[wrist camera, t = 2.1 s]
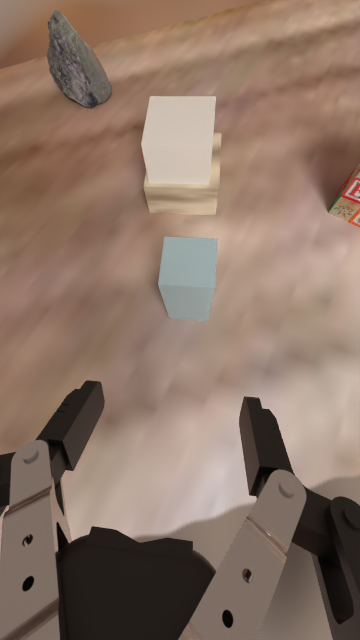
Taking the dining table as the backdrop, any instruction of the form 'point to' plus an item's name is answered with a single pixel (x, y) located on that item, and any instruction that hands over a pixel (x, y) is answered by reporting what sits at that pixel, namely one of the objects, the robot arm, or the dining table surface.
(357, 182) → the stack of blocks
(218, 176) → the tower bottom slab
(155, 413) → the dining table surface
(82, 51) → the mineral rock
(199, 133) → the tower top slab
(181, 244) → the pillar block
